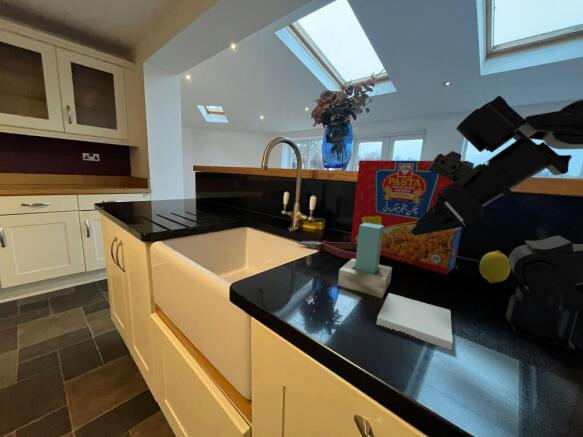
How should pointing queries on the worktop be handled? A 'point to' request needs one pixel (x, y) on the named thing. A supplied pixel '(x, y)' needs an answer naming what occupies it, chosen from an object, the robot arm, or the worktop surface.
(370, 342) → the worktop surface
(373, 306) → the worktop surface
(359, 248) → the post
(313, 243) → the pliers
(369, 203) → the pasta box
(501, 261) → the lemon
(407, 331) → the pad
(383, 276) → the socket block
